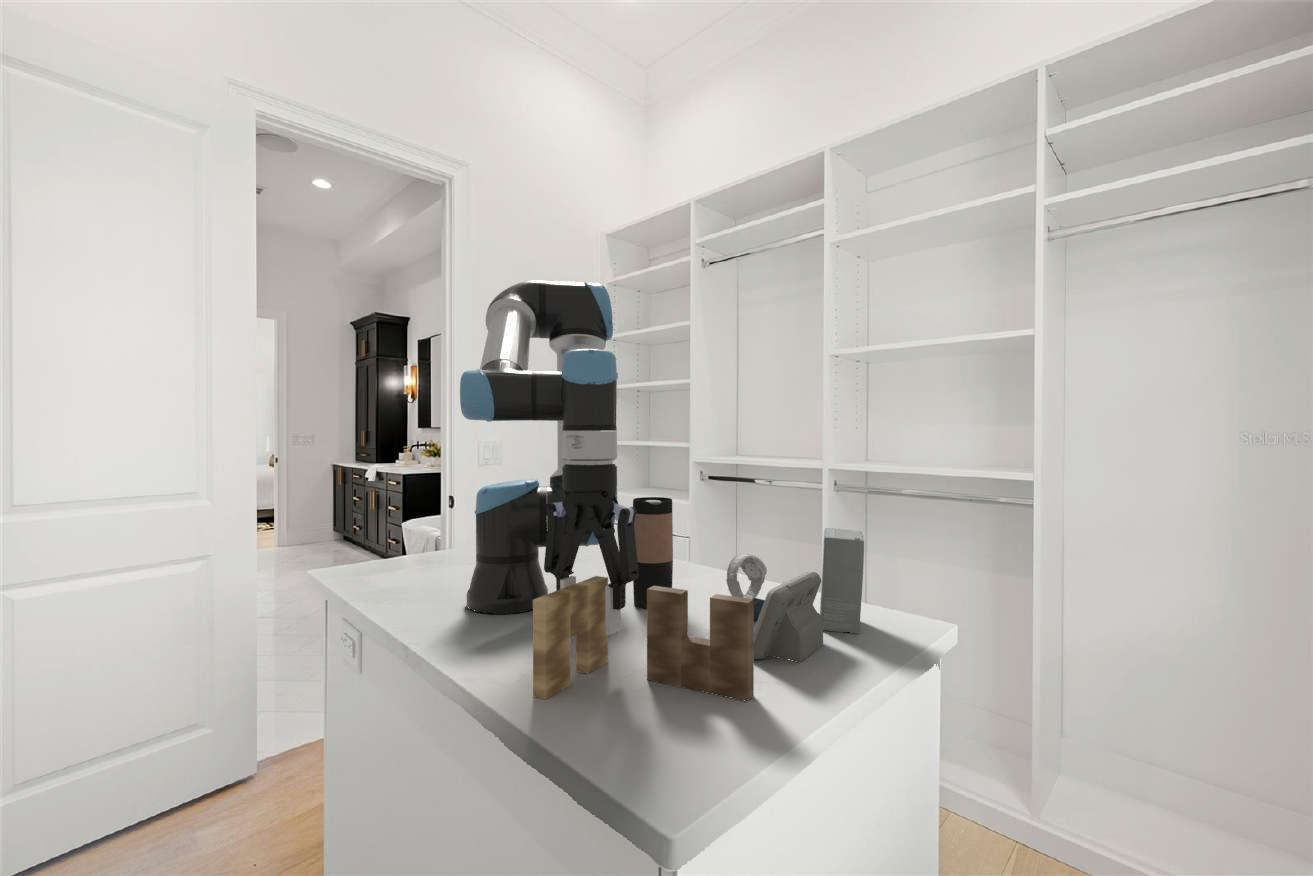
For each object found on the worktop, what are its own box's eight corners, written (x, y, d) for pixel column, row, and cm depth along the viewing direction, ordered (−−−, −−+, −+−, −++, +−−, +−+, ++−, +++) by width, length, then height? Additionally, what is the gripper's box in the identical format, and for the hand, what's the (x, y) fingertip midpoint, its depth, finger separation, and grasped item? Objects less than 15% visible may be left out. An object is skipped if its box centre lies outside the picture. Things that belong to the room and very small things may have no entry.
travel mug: (648, 597, 121) (648, 496, 121) (680, 603, 116) (680, 498, 116) (624, 606, 114) (624, 499, 114) (657, 613, 110) (657, 502, 110)
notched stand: (647, 679, 81) (646, 589, 80) (654, 674, 82) (654, 585, 82) (748, 701, 74) (748, 603, 74) (753, 695, 76) (753, 599, 76)
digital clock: (794, 630, 101) (794, 566, 101) (843, 644, 94) (843, 575, 94) (729, 654, 90) (729, 582, 90) (780, 672, 83) (780, 594, 83)
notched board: (546, 699, 75) (545, 601, 74) (533, 696, 76) (532, 599, 75) (608, 661, 87) (607, 577, 87) (596, 659, 88) (596, 576, 88)
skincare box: (819, 616, 108) (819, 527, 108) (862, 620, 106) (862, 529, 106) (819, 631, 100) (819, 535, 100) (865, 635, 98) (865, 537, 98)
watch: (771, 615, 109) (771, 553, 108) (743, 625, 103) (743, 560, 103) (746, 609, 113) (746, 549, 112) (718, 618, 107) (718, 555, 107)
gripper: (516, 462, 86) (517, 625, 86) (638, 465, 76) (638, 648, 77) (549, 459, 92) (550, 611, 93) (665, 462, 83) (665, 631, 83)
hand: (590, 627), depth 85 cm, fingers open, 7 cm apart
